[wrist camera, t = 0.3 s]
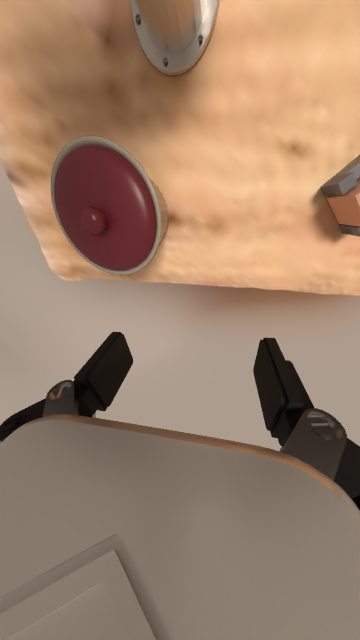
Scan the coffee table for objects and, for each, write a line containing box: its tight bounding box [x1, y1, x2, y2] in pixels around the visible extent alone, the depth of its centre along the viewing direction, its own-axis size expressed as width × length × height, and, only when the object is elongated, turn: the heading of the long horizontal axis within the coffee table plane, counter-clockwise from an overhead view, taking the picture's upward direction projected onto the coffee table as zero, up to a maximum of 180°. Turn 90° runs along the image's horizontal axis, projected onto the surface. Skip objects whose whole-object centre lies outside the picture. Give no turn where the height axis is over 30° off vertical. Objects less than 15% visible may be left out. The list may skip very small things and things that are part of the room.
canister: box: [51, 136, 168, 275], centre depth 30 cm, size 18×18×21 cm
